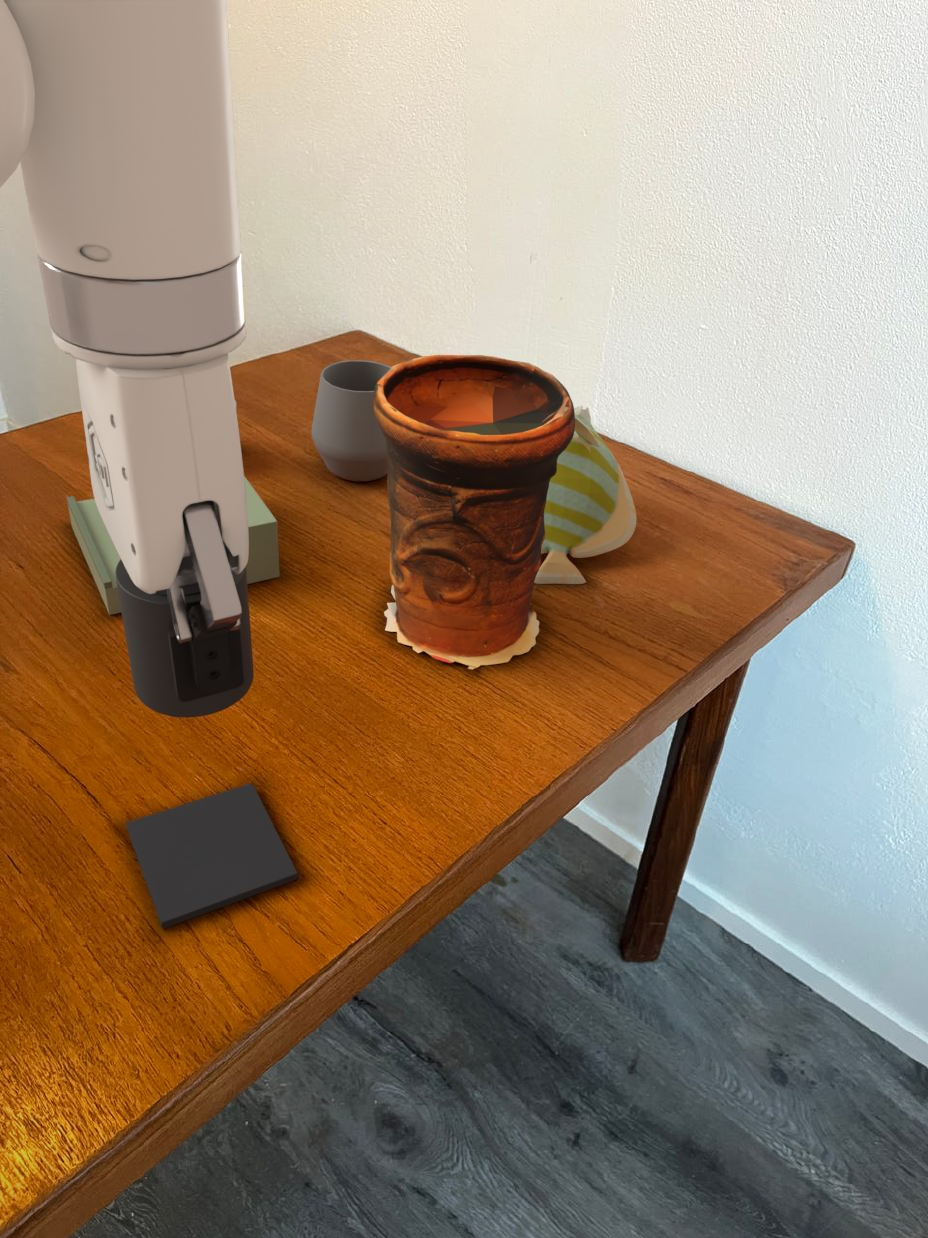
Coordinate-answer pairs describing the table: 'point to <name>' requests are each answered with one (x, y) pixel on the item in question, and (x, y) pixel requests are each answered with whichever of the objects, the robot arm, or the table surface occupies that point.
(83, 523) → the green stepped riser
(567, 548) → the decorative fish sculpture
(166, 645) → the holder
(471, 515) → the vessel
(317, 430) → the cup
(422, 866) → the table surface
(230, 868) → the pad
